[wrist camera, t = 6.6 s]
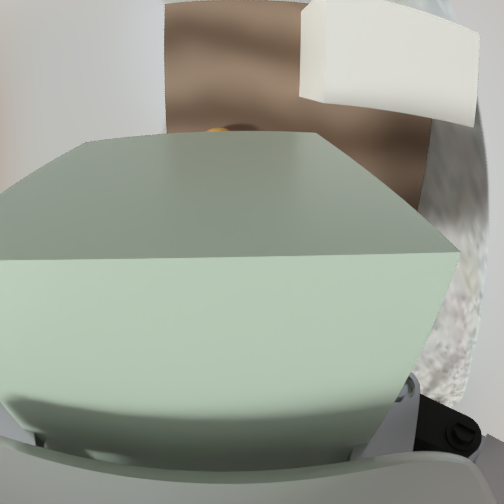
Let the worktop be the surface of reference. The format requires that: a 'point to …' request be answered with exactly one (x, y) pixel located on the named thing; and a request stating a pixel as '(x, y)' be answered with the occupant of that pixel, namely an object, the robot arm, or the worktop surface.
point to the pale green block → (212, 300)
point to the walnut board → (275, 88)
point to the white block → (388, 59)
